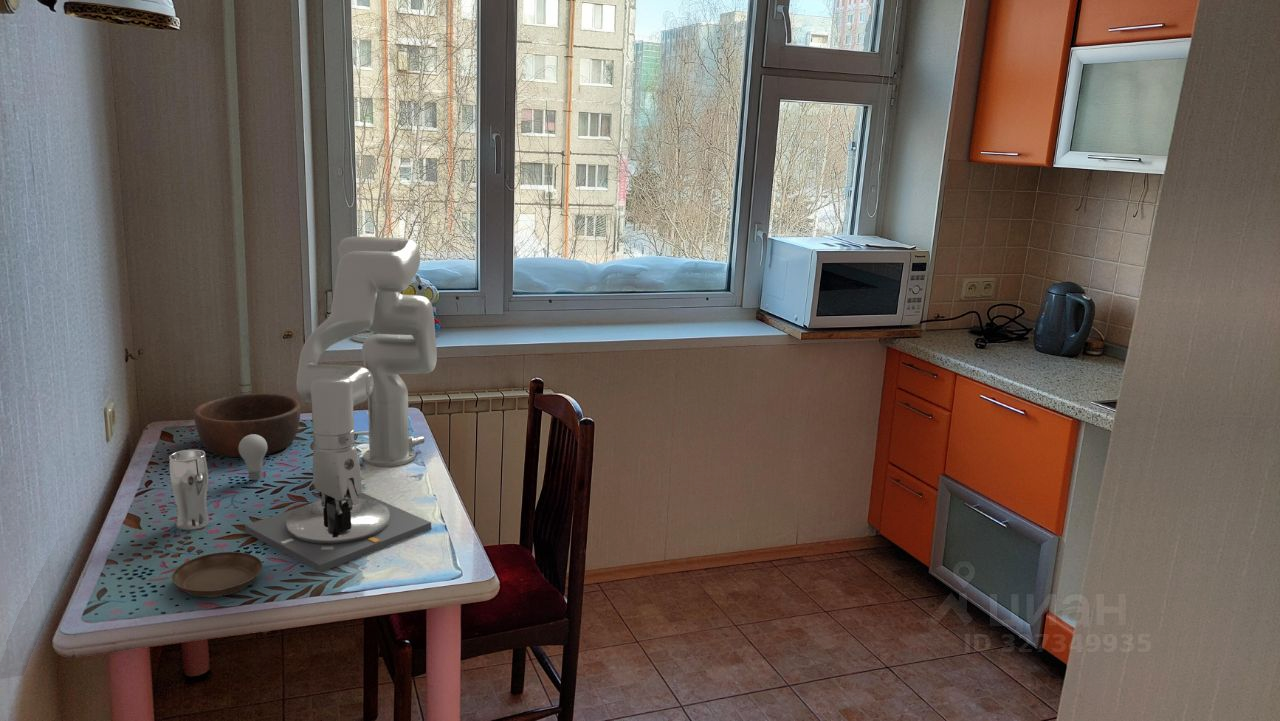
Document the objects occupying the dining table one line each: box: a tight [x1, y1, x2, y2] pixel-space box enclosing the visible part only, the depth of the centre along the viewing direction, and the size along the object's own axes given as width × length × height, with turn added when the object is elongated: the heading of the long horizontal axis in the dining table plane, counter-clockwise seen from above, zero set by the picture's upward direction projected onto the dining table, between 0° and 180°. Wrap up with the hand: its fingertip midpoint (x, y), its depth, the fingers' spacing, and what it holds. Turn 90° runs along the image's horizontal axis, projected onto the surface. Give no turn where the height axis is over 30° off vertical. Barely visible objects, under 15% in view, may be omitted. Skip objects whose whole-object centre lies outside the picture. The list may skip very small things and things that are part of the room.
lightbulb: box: [238, 434, 268, 482], centre depth 209 cm, size 6×6×11 cm
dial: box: [286, 498, 390, 544], centre depth 185 cm, size 20×20×7 cm
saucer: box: [171, 551, 264, 598], centre depth 164 cm, size 15×15×3 cm
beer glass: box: [168, 449, 210, 531], centre depth 185 cm, size 7×7×15 cm
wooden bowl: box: [193, 393, 302, 458], centre depth 232 cm, size 25×25×10 cm
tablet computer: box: [353, 410, 369, 436], centre depth 252 cm, size 19×13×1 cm, turn 22°
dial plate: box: [244, 491, 432, 573], centre depth 187 cm, size 26×26×2 cm
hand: (337, 527), depth 180 cm, fingers closed on dial, 3 cm apart
